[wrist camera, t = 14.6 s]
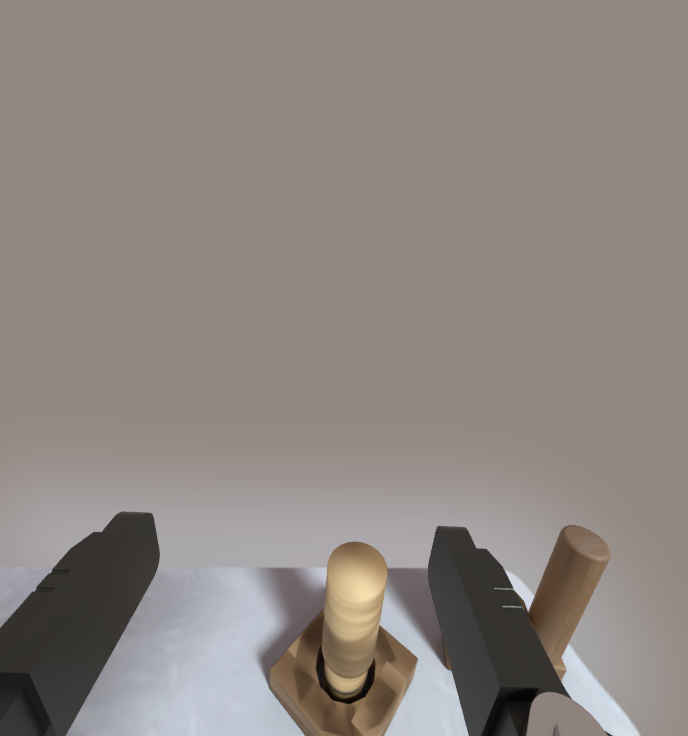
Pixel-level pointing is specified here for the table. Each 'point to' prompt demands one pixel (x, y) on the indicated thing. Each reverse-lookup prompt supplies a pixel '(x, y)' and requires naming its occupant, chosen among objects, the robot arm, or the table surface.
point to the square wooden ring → (331, 718)
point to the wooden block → (565, 590)
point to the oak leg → (351, 618)
